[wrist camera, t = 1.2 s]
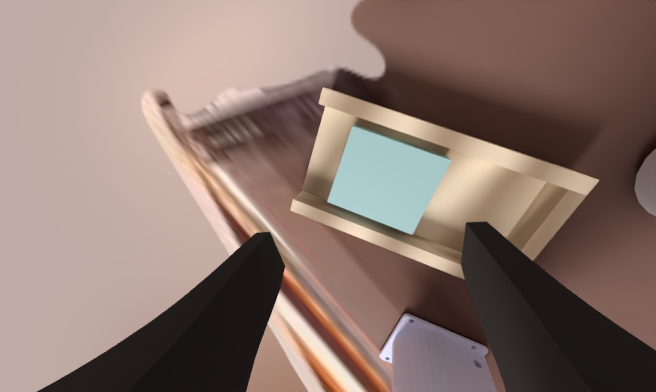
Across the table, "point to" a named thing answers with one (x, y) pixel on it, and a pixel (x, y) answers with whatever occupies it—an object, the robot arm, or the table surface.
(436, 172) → the pale teal square slab
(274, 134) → the table surface
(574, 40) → the table surface
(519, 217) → the tray
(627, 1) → the table surface
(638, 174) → the can
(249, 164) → the table surface
